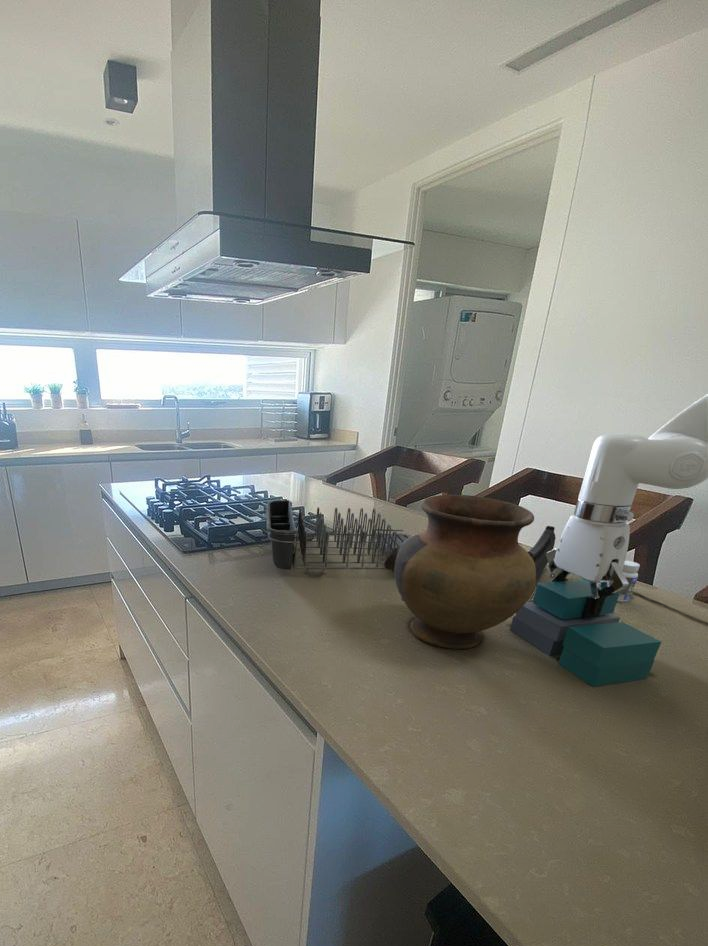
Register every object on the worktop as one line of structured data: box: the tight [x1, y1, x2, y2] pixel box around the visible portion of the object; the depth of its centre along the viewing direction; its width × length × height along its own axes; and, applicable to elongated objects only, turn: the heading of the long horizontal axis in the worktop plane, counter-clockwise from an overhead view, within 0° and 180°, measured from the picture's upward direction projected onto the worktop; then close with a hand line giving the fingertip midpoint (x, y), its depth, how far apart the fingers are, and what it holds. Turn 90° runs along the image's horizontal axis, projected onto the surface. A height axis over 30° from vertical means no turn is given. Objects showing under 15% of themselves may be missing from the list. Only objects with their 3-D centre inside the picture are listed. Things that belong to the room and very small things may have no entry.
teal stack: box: [558, 621, 662, 687], centre depth 80 cm, size 11×7×7 cm, turn 104°
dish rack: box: [265, 499, 412, 577], centre depth 128 cm, size 34×44×12 cm
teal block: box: [532, 578, 620, 619], centre depth 88 cm, size 11×7×4 cm, turn 104°
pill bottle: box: [609, 559, 641, 603], centre depth 108 cm, size 5×5×8 cm
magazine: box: [527, 525, 556, 582], centre depth 115 cm, size 17×3×30 cm
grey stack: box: [509, 601, 621, 657], centre depth 90 cm, size 14×10×6 cm
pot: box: [383, 494, 537, 650], centre depth 87 cm, size 25×24×25 cm
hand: (572, 607), depth 89 cm, fingers closed on teal block, 7 cm apart
